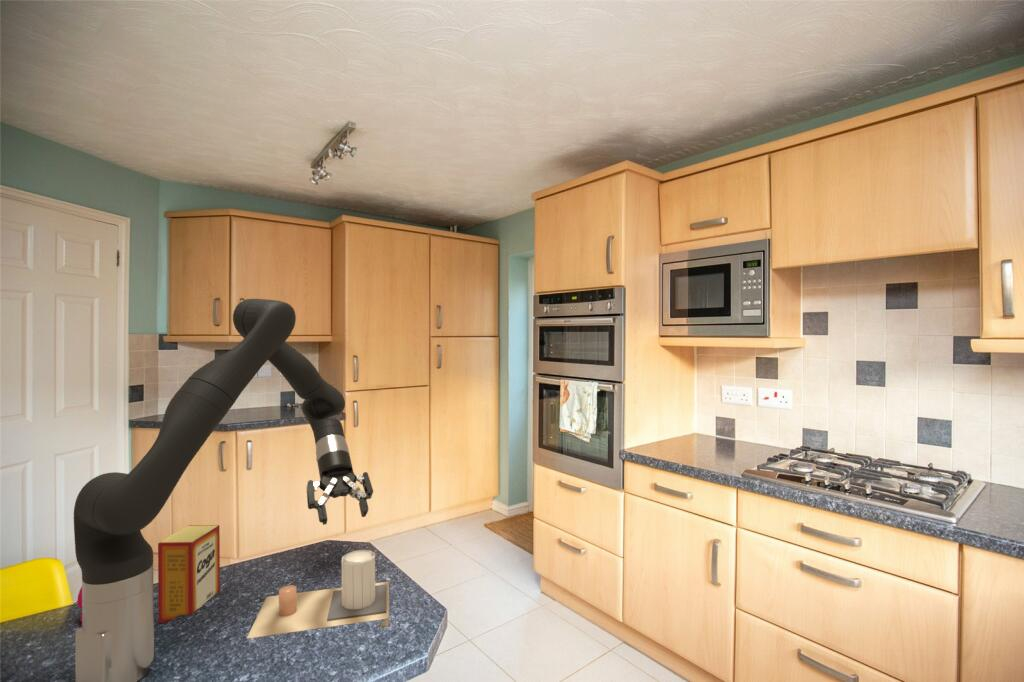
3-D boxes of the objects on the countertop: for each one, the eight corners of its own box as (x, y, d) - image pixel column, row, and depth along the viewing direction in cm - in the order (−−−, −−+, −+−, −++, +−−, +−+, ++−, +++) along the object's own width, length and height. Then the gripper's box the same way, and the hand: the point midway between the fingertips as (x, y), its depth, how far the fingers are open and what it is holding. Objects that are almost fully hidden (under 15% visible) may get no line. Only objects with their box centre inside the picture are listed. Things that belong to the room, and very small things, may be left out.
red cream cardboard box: (189, 597, 106) (189, 523, 106) (219, 596, 106) (219, 523, 106) (158, 622, 96) (158, 541, 96) (191, 621, 96) (191, 540, 96)
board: (389, 588, 109) (388, 579, 109) (388, 625, 94) (388, 616, 94) (266, 603, 103) (266, 594, 103) (246, 646, 88) (246, 636, 88)
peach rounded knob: (288, 617, 95) (288, 594, 95) (275, 615, 96) (275, 592, 96) (300, 608, 98) (299, 586, 98) (286, 606, 99) (286, 584, 99)
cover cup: (363, 611, 96) (363, 565, 96) (335, 606, 98) (335, 561, 98) (381, 594, 102) (380, 551, 102) (354, 590, 104) (353, 548, 104)
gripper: (304, 452, 113) (313, 517, 103) (365, 445, 121) (380, 504, 111) (300, 470, 118) (309, 533, 108) (360, 462, 125) (373, 520, 115)
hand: (345, 519), depth 109 cm, fingers open, 8 cm apart
